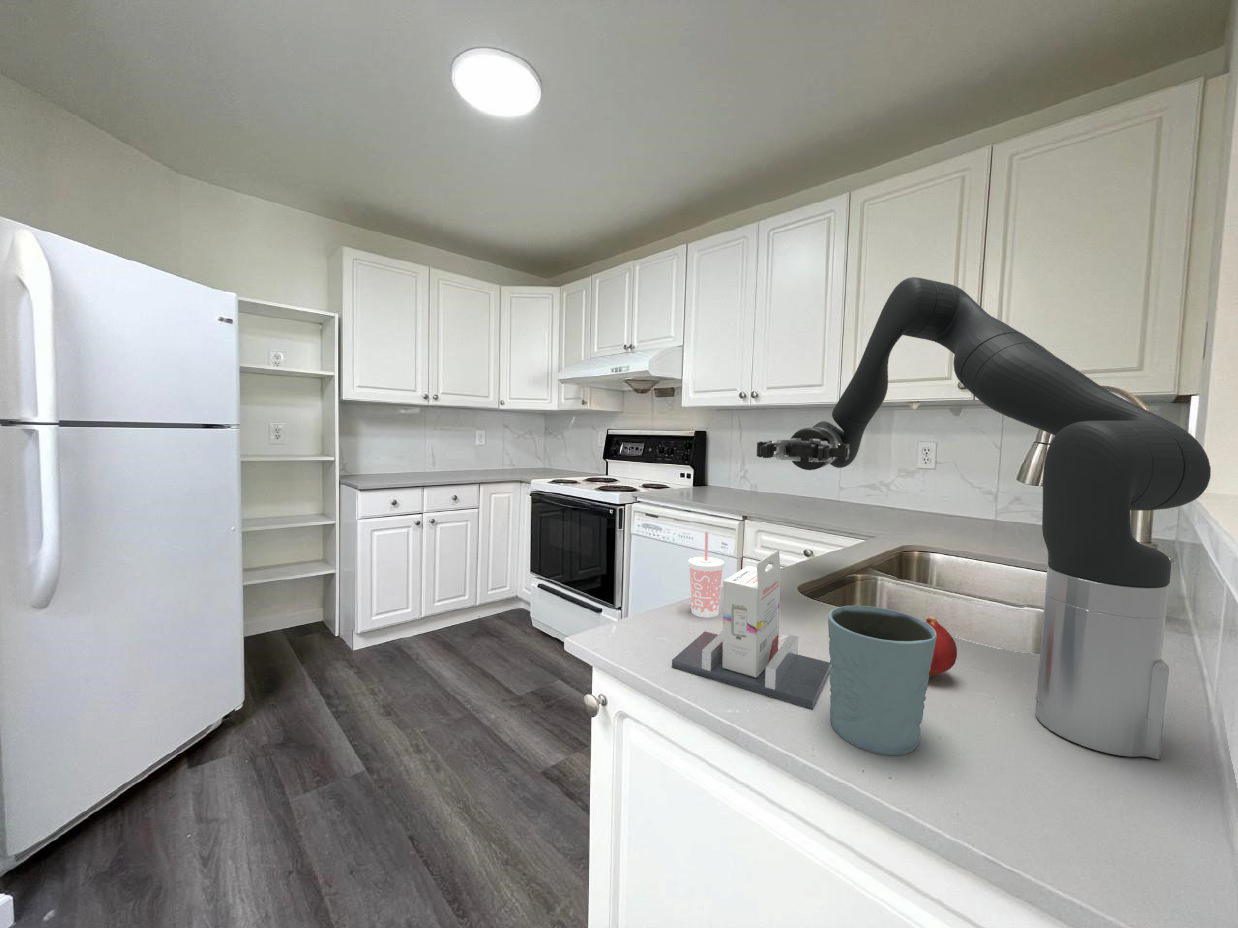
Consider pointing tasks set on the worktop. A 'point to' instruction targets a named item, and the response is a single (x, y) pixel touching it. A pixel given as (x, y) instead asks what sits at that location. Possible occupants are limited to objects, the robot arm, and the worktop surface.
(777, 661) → the rail channel
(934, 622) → the onion
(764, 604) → the ink cartridge box
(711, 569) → the beverage cup
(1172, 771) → the worktop surface
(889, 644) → the teal ceramic vase
